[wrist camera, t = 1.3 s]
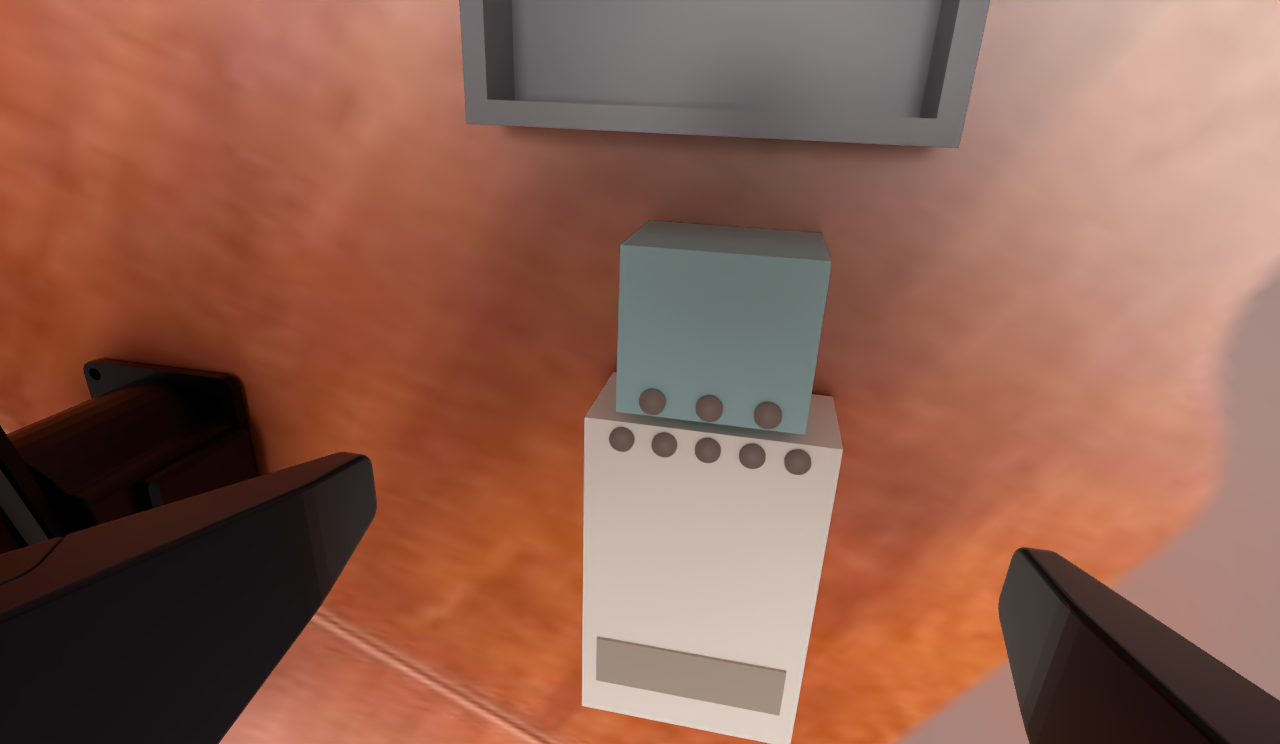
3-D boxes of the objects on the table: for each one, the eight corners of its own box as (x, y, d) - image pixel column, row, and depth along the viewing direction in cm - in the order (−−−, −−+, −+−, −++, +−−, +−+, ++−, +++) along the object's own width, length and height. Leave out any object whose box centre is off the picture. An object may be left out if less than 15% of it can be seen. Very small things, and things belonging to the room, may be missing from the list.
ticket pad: (606, 631, 25) (580, 709, 22) (613, 371, 21) (583, 419, 18) (788, 664, 24) (790, 751, 21) (832, 396, 20) (843, 452, 17)
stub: (643, 360, 21) (614, 413, 17) (650, 219, 19) (618, 245, 16) (800, 377, 20) (805, 437, 17) (821, 232, 19) (832, 262, 15)
